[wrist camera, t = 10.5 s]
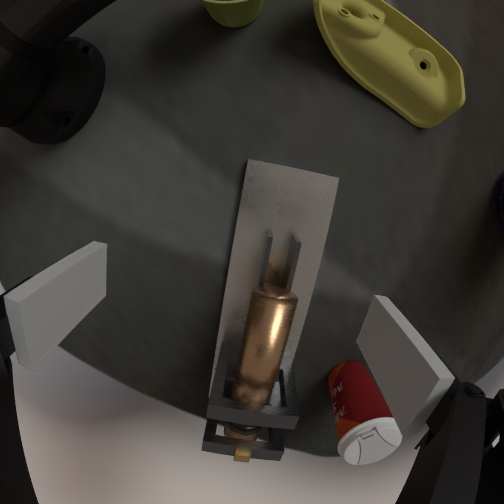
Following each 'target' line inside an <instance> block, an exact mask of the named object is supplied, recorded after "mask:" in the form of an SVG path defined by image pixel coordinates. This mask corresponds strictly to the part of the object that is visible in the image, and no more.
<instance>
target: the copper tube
mask: <svg viewBox="0 0 504 504" xmlns="http://www.w3.org/2000/svg"><path fill="white" fill-rule="evenodd" d="M297 303H298V297H297V296H296V295H295V294H294V293H292V292H290V291H288V290H286V289H283V288H280V287H275V286H266V285H264V286H257V287H255V288H253V290H252V295H251V300H250V305H249V310H248V315H247V320H246V325H245V330H244V335H243V340H242V345H241V350H240V355H239V360H238V364H237V369H236V374H235V379H234V384H233V389H232V394H231V398H230V400H234V401H240V402H246V403H253V404H261V405H268V404H269V401H270V398H271V394H272V391H273V388H274V385H275V381H276V378H277V375H278V371H279V368H280V365H281V361H282V358H283V354H284V351H285V347H286V344H287V340H288V337H289V333H290V329H291V326H292V322H293V318H294V315H295V311H296V307H297ZM261 428H262V426H255V425H247V424H240V423H234V422H228V421H226V422H225V427H224V435H225V437H231V438H238V439H245V440H253V441H256V440H257V438H258V435H259V432H260V429H261Z"/></svg>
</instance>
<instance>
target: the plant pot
mask: <svg viewBox="0 0 504 504" xmlns="http://www.w3.org/2000/svg"><path fill="white" fill-rule="evenodd" d="M200 1H201V2H202V3H203V5H204V6H205V8H206V9H207V11H208V12H209V14H210V15H211V17H212V18H213V19H214V20H215V21H216V22H218V23H219V24H221V25H223V26H226V27H242V26H245V25H248V24H250V23H251V22H252V21H254V20H255V19H256V18H257V17H258V16H259V15H260V12H261V9H262V6H263V3H264V0H200Z"/></svg>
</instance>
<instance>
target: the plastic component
mask: <svg viewBox="0 0 504 504" xmlns="http://www.w3.org/2000/svg"><path fill="white" fill-rule="evenodd" d="M313 5H314V12H315V17H316V21H317V24H318V27H319V30H320V32H321V34H322V37H323V39H324V41H325V42H326V44H327V46H328V48H329V49H330V51H331V53H332V54H333V56H334V57H335V58H336V60H337V61H338V62H339V64H340V65H341V66H342V67H343V68H344V69H345V71H346V72H347V73H348V74H349V75H350V76H351V77H352V78H353V79H354V80H356V81H357V82H358V83H359V84H360V85H361V86H363V87H364V88H365V89H367V90H368V91H369V92H371V93H372V94H374V95H375V96H377V97H378V98H379V99H381V100H382V101H383V102H385V103H386V104H387V105H389V106H390V107H391V108H393V109H394V110H395V111H397V112H398V113H399V114H400V115H402V116H403V117H404V118H405V119H407V120H408V121H409V122H410V123H412V124H413V125H415V126H418V127H422V128H431V127H434V126H437V125H438V124H440V123H441V122H442V121H444V120H445V119H446V118H448V117H449V116H450V115H452V114H453V113H454V112H456V111H457V110H458V109H460V108H461V107H462V105H463V104H464V102H465V89H464V79H463V72H462V69H461V67H460V65H459V64H458V62H457V61H456V60H455V58H454V57H453V56H452V55H451V54H450V53H449V52H448V51H447V50H446V49H445V48H444V47H443V46H442V45H440V44H439V43H438V42H437V41H436V40H435V39H434V38H432V37H431V36H430V35H429V34H428V33H426V32H425V31H424V30H423V29H421V28H420V27H419V26H418V25H416V24H415V23H414V22H413V21H411V20H410V19H409V18H407V17H406V16H405V15H403V14H402V13H400V12H399V11H398V10H396V9H395V8H393V7H392V6H391V5H389V4H388V3H386V2H385V1H383V0H313ZM420 62H424V63H425V64H426V68H425V69H424V70H423V69H421V67H420Z"/></svg>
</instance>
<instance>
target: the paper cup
mask: <svg viewBox="0 0 504 504" xmlns="http://www.w3.org/2000/svg"><path fill="white" fill-rule="evenodd" d="M328 382H329V389H330V394H331V400H332V405H333V411H334V416H335V421H336V427H337V433H338V439H339V444H338V453H339V454H340V455H341V456H342V457H343V458H344V459H345V461H347V462H348V463H350V464H353V465H363V464H370V463H373V462H376V461H378V460H381V459H382V458H384V457H386V456H388V455H389V454H391V453H392V452H393V451H394V450H395V449H396V448H397V447H398V446H399V444H400V443H401V440H402V435H401V432H400V430H399V428H398V426H397V424H396V422H395V419H394V417H393V415H392V413H391V411H390V409H389V407H388V405H387V403H386V401H385V400H384V398H383V396H382V395H381V393H380V391H379V390H378V388H377V386H376V385H375V383H374V381H373V380H372V378H371V376H370V375H369V373H368V372H367V370H366V368H365V367H364V366H363V365H362V364H361V363H360V362H357V361H345V362H342V363H340V364H338V365H337V366H336V367H334V368H333V369H332V371H331V372H330V374H329V378H328Z"/></svg>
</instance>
